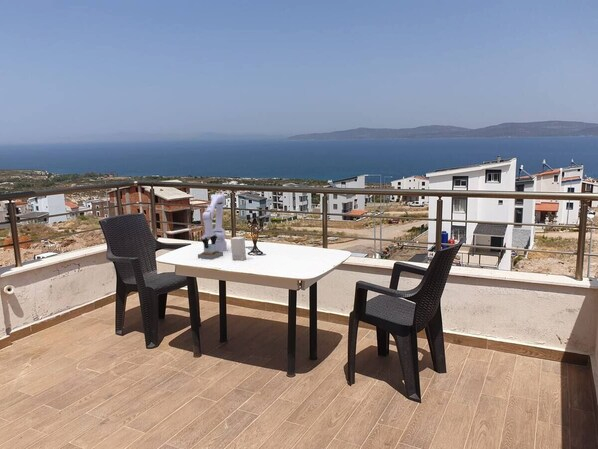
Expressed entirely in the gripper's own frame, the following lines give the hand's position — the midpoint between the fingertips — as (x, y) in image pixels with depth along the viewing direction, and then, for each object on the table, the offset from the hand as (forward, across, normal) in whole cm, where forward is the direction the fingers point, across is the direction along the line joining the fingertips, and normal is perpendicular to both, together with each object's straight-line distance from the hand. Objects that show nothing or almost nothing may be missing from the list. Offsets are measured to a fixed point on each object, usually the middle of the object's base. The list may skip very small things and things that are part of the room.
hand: (210, 247), depth 312 cm
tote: (+8, 0, 0) cm, 8 cm away
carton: (+3, 0, 0) cm, 3 cm away
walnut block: (+7, 0, 0) cm, 7 cm away
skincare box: (+8, -4, +22) cm, 24 cm away
